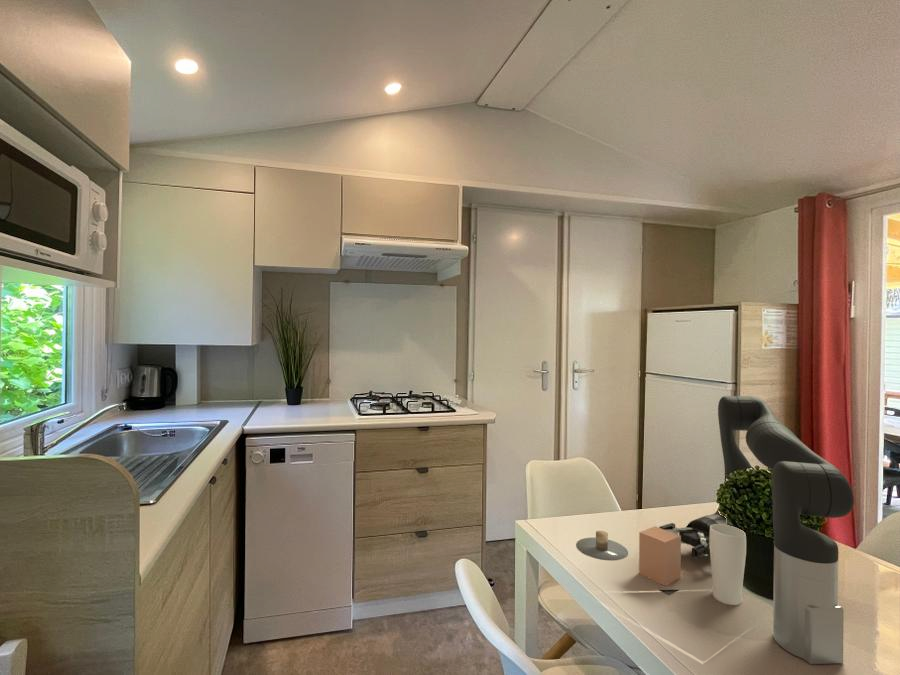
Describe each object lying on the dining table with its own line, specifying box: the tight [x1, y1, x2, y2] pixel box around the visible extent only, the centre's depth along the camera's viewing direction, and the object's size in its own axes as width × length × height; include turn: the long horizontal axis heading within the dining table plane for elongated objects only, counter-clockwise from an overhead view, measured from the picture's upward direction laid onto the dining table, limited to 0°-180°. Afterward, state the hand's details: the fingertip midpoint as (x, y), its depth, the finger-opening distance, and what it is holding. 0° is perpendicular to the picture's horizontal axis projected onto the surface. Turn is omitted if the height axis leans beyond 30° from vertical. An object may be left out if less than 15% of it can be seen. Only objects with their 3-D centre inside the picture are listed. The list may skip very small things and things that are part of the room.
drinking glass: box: [709, 524, 747, 606], centre depth 96 cm, size 7×7×15 cm
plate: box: [575, 537, 629, 561], centre depth 118 cm, size 13×13×1 cm
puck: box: [595, 530, 609, 551], centre depth 118 cm, size 3×3×4 cm
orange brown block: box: [638, 525, 682, 586], centre depth 105 cm, size 6×6×10 cm
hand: (675, 546), depth 108 cm, fingers open, 8 cm apart
